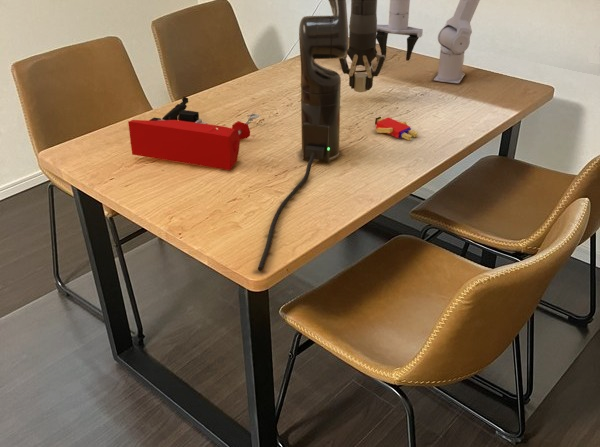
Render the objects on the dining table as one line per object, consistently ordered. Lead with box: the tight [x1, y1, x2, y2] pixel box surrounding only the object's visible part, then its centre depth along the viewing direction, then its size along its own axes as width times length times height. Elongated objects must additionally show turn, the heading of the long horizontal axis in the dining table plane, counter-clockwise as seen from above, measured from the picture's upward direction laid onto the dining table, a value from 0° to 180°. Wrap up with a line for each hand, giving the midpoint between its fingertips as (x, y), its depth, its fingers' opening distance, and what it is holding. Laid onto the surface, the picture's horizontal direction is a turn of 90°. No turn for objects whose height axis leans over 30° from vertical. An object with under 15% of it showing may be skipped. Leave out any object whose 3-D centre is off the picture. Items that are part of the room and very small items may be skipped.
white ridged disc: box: [346, 55, 366, 72], centre depth 207 cm, size 10×10×4 cm
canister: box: [353, 72, 368, 93], centre depth 180 cm, size 4×4×4 cm
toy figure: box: [374, 116, 418, 141], centre depth 162 cm, size 2×7×12 cm
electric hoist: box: [127, 96, 260, 171], centre depth 159 cm, size 10×27×30 cm
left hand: (360, 88), depth 180 cm, fingers closed on canister, 4 cm apart
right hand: (395, 58), depth 189 cm, fingers open, 7 cm apart
